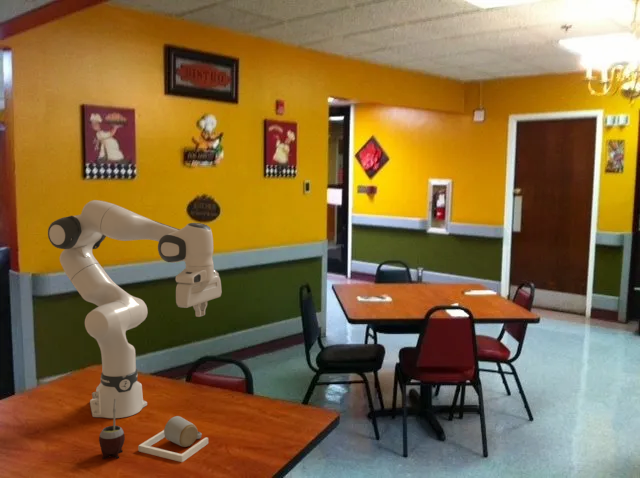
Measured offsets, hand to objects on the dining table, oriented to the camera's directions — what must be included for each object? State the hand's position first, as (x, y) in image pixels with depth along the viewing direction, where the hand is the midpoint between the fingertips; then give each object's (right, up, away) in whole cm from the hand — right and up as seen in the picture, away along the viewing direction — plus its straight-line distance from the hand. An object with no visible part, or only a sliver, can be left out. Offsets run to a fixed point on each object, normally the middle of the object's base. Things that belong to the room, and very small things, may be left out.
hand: (200, 315), depth 188 cm
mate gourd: (-23, -39, -16) cm, 48 cm away
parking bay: (-5, -38, -11) cm, 40 cm away
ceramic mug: (-3, -38, -7) cm, 39 cm away
